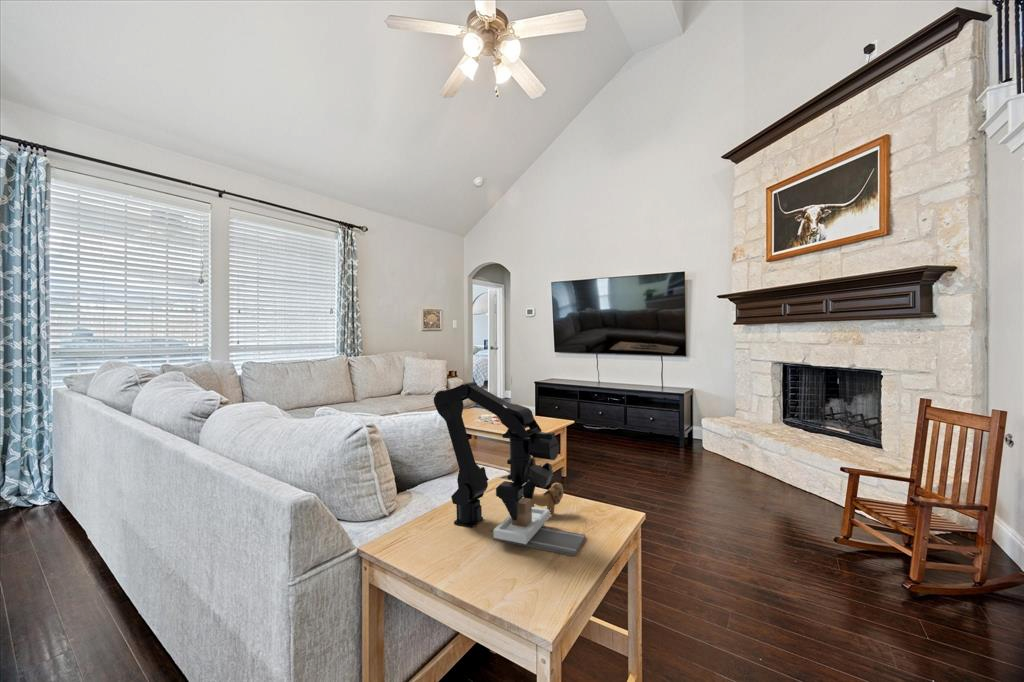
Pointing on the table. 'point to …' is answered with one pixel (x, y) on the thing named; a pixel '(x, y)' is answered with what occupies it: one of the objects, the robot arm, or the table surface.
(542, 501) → the lion figurine
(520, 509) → the brown wooden block
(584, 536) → the track mat
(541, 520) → the white rimmed tray
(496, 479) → the table surface
